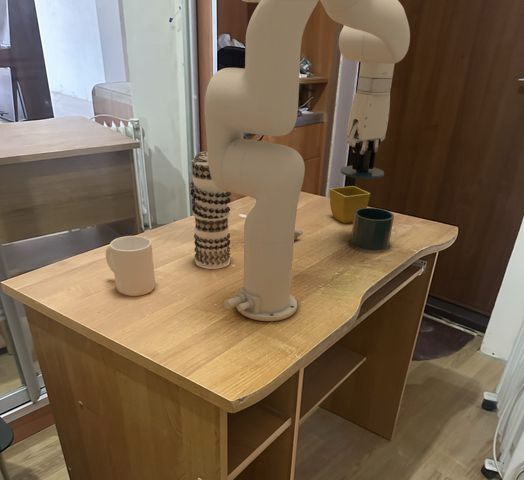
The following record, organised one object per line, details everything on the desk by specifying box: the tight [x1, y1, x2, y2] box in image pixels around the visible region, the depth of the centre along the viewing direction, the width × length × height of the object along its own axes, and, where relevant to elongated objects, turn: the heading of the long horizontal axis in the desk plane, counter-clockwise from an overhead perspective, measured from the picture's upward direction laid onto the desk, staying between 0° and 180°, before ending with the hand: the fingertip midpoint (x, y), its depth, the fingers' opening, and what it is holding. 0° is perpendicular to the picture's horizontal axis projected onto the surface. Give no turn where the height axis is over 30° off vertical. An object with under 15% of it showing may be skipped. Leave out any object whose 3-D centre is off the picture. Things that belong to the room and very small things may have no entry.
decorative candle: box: [189, 150, 232, 270], centre depth 112 cm, size 9×9×25 cm
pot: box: [350, 207, 395, 252], centre depth 129 cm, size 10×10×8 cm
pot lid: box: [340, 148, 385, 180], centre depth 122 cm, size 11×11×6 cm
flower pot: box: [329, 185, 371, 224], centre depth 144 cm, size 9×9×9 cm
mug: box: [105, 235, 156, 297], centre depth 104 cm, size 12×8×10 cm
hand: (362, 168), depth 123 cm, fingers closed on pot lid, 3 cm apart
